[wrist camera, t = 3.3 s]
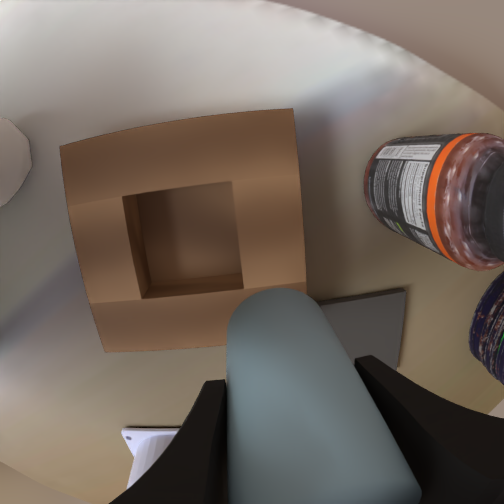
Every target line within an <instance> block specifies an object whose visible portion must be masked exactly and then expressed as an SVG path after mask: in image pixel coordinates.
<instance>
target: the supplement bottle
mask: <svg viewBox="0 0 504 504" xmlns="http://www.w3.org/2000/svg"><path fill="white" fill-rule="evenodd" d="M364 193H365V198H366V201H367V204H368V206H369V208H370V210H371V212H372V213H373V215H374V216H375V217H376V218H377V220H378V221H379V222H381V223H382V224H383V225H385V226H386V227H388V228H389V229H391V230H392V231H394V232H396V233H399V234H401V235H403V236H405V237H407V238H409V239H411V240H413V241H415V242H416V243H418V244H420V245H422V246H424V247H426V248H428V249H430V250H432V251H434V252H436V253H438V254H440V255H442V256H443V257H445V258H447V259H449V260H451V261H454V262H455V263H457V264H459V265H461V266H463V267H466V268H469V269H472V270H477V271H485V270H490V269H494V268H496V267H499V266H500V265H502V264H504V140H503V139H502V138H500V137H498V136H495V135H492V134H488V133H486V134H485V133H467V134H444V135H430V136H416V137H404V138H398V139H395V140H391V141H389V142H386V143H385V144H383V145H382V146H381V147H379V148H378V149H377V151H376V152H375V153H374V154H373V155H372V157H371V159H370V160H369V162H368V165H367V167H366V171H365V176H364Z"/></svg>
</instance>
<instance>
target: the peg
mask: <svg viewBox="0 0 504 504" xmlns="http://www.w3.org/2000/svg"><path fill="white" fill-rule="evenodd" d="M226 387H227V488H228V504H418V503H419V501H420V499H421V496H422V491H421V488H420V486H419V484H418V482H417V480H416V478H415V477H414V475H413V473H412V471H411V469H410V467H409V465H408V463H407V461H406V459H405V458H404V456H403V454H402V452H401V450H400V448H399V446H398V445H397V443H396V441H395V439H394V437H393V435H392V433H391V432H390V430H389V428H388V426H387V424H386V422H385V421H384V419H383V417H382V415H381V413H380V411H379V410H378V408H377V406H376V404H375V402H374V401H373V399H372V397H371V395H370V393H369V392H368V390H367V388H366V386H365V385H364V383H363V381H362V379H361V377H360V376H359V374H358V372H357V370H356V369H355V367H354V365H353V363H352V362H351V360H350V358H349V356H348V355H347V353H346V351H345V349H344V348H343V346H342V344H341V342H340V341H339V339H338V337H337V336H336V334H335V332H334V330H333V329H332V327H331V325H330V323H329V322H328V320H327V318H326V317H325V315H324V313H323V312H322V310H321V308H320V307H319V305H318V304H317V303H316V302H315V301H314V300H313V299H312V298H311V297H309V296H308V295H306V294H305V293H303V292H300V291H298V290H294V289H290V288H272V289H267V290H263V291H260V292H258V293H255V294H253V295H252V296H250V297H248V298H247V299H245V300H244V301H243V302H242V303H241V304H240V305H239V306H238V307H237V308H236V309H235V311H234V312H233V314H232V316H231V318H230V320H229V323H228V327H227V364H226Z"/></svg>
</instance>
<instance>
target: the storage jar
mask: <svg viewBox="0 0 504 504" xmlns="http://www.w3.org/2000/svg"><path fill="white" fill-rule="evenodd" d="M469 347H470V350H471V353H472V354H473V356H474V357H475V358H476V359H478V360H479V361H481V362H482V364H483V365H484V366H485V367H486V369H487V370H488V372H489V373H490V374H491V375H492V376H493V377H494V378H496V379H497V380H499V381H500V382H501V383H502V384H503V385H504V272H502V273H501V274H500V275H499V276H498V277H497V278H496V279H495V280H494V281H493V282H492V283H491V285H490V286H489V287H488V289H487V290H486V292H485V293H484V295H483V296H482V298H481V300H480V302H479V304H478V306H477V308H476V311H475V313H474V316H473V319H472V322H471V326H470V332H469Z"/></svg>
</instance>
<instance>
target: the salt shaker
mask: <svg viewBox="0 0 504 504" xmlns="http://www.w3.org/2000/svg"><path fill="white" fill-rule="evenodd" d="M31 168H32V161H31V153H30V145H29V140H28V139H27V138H26V137H25V135H24V134H23V133H22V132H21V131H20V130H19V129H18V128H17V127H16V126H15V125H14V124H13V123H12V122H11V121H10V120H8V119H5V118H0V206H3V205H5V204H7V203H8V202H9V201H10V199H11V198H12V197H13V196H14V195H15V194H16V192H17V191H18V190H19V189H20V187H21V185H22V184H23V182H24V180H25V178H26V177H27V175H28V173H29V171H30V170H31Z"/></svg>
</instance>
